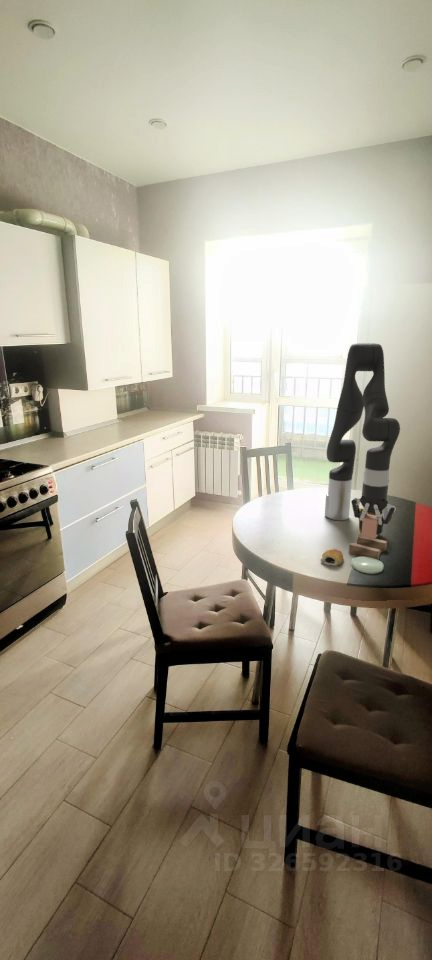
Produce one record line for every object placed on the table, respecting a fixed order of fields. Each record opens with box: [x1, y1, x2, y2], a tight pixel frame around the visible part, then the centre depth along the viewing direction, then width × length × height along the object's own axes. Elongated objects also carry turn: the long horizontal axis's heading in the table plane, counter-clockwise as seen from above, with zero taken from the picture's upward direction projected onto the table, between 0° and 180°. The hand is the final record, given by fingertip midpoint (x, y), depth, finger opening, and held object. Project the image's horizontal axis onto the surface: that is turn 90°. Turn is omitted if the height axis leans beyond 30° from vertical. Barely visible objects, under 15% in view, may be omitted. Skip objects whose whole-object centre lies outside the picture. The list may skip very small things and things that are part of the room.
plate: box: [351, 556, 384, 575], centre depth 146 cm, size 10×10×1 cm
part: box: [360, 514, 379, 539], centre depth 142 cm, size 4×4×6 cm
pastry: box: [320, 548, 344, 567], centre depth 150 cm, size 9×7×4 cm
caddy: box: [348, 534, 388, 560], centre depth 156 cm, size 10×10×3 cm
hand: (370, 532), depth 143 cm, fingers closed on part, 4 cm apart
